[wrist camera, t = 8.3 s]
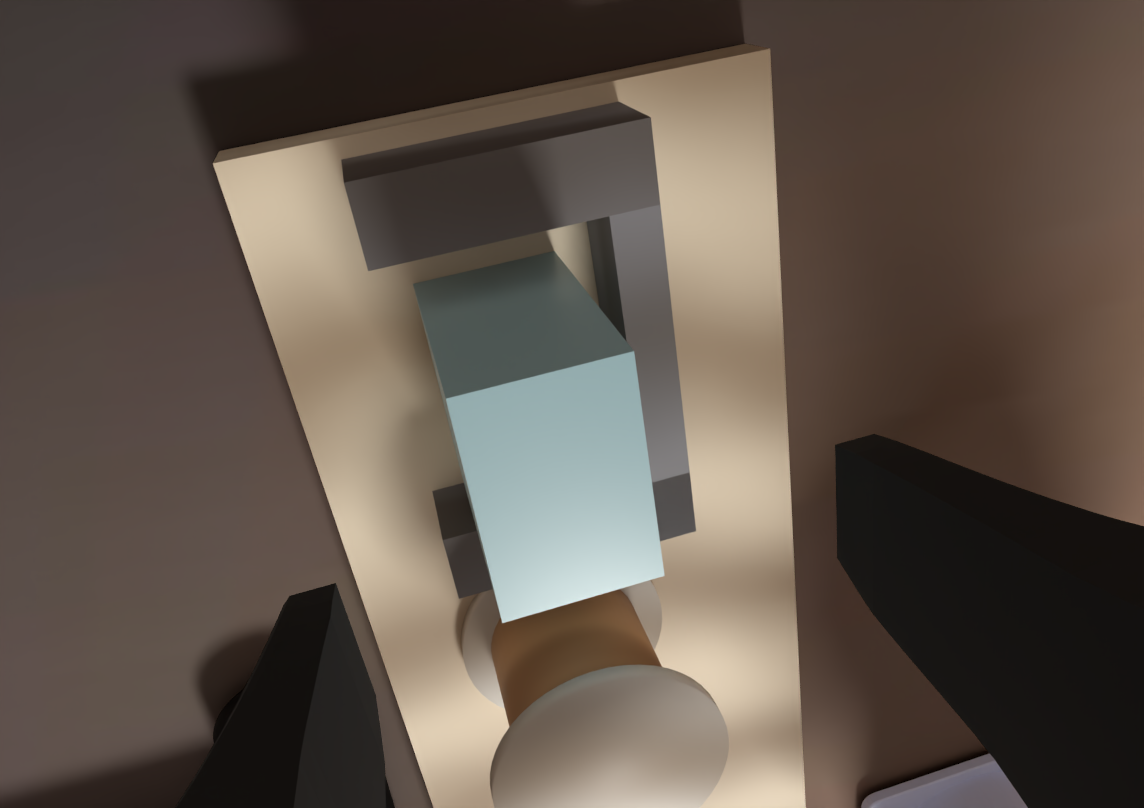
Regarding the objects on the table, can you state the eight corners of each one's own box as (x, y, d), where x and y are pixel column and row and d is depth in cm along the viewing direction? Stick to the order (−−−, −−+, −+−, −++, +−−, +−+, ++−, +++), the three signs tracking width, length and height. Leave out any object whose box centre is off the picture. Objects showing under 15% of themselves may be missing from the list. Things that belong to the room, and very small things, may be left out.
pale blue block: (586, 435, 21) (664, 575, 16) (459, 468, 21) (502, 623, 16) (554, 251, 19) (633, 351, 14) (413, 283, 18) (445, 398, 14)
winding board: (791, 833, 31) (885, 1007, 26) (484, 938, 30) (519, 1146, 25) (745, 43, 19) (904, 76, 14) (219, 150, 18) (177, 233, 12)
